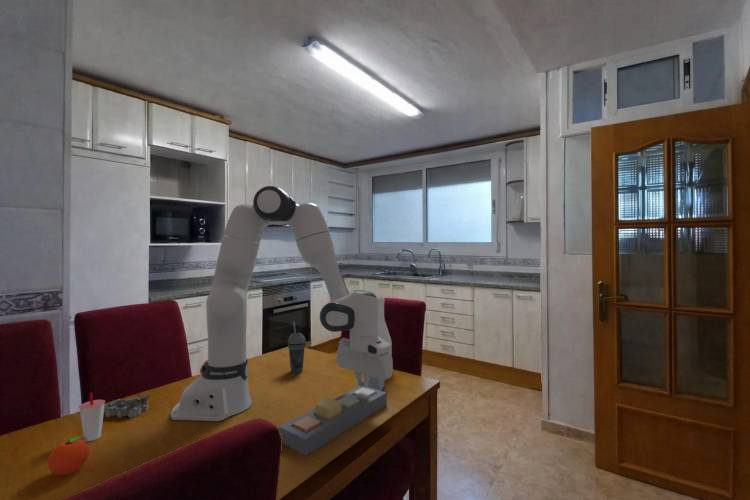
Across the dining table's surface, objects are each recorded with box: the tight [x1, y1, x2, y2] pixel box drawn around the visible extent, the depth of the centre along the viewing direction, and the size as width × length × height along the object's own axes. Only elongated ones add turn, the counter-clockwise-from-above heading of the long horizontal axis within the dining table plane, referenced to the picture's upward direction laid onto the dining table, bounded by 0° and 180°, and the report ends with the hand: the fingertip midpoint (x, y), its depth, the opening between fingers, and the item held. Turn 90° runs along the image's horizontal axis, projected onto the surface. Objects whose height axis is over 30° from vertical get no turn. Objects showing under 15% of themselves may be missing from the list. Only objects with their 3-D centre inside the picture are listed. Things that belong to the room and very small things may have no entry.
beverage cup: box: [287, 321, 307, 374], centre depth 141 cm, size 7×7×20 cm
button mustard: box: [315, 397, 341, 420], centre depth 98 cm, size 5×5×4 cm
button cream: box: [353, 388, 376, 399], centre depth 111 cm, size 5×5×4 cm
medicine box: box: [368, 376, 385, 392], centre depth 123 cm, size 8×4×9 cm, turn 168°
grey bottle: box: [376, 296, 393, 356], centre depth 141 cm, size 10×10×30 cm
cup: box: [78, 392, 106, 442], centre depth 92 cm, size 5×5×12 cm
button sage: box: [337, 396, 359, 409], centre depth 104 cm, size 5×5×4 cm
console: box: [278, 386, 388, 457], centre depth 101 cm, size 34×10×4 cm, turn 143°
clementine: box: [47, 436, 90, 476], centre depth 79 cm, size 8×7×7 cm
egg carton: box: [104, 394, 151, 418], centre depth 106 cm, size 11×8×4 cm
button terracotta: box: [293, 416, 321, 433], centre depth 91 cm, size 5×5×4 cm
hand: (362, 386), depth 110 cm, fingers closed
